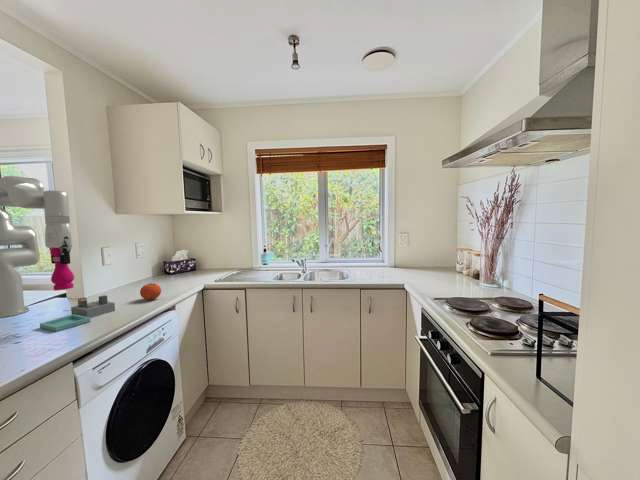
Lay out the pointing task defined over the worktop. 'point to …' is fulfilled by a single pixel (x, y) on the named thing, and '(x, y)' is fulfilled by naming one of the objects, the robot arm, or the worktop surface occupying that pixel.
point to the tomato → (150, 291)
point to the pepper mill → (61, 272)
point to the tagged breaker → (82, 302)
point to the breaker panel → (93, 309)
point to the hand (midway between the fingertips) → (60, 263)
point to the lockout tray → (64, 323)
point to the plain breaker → (103, 299)
